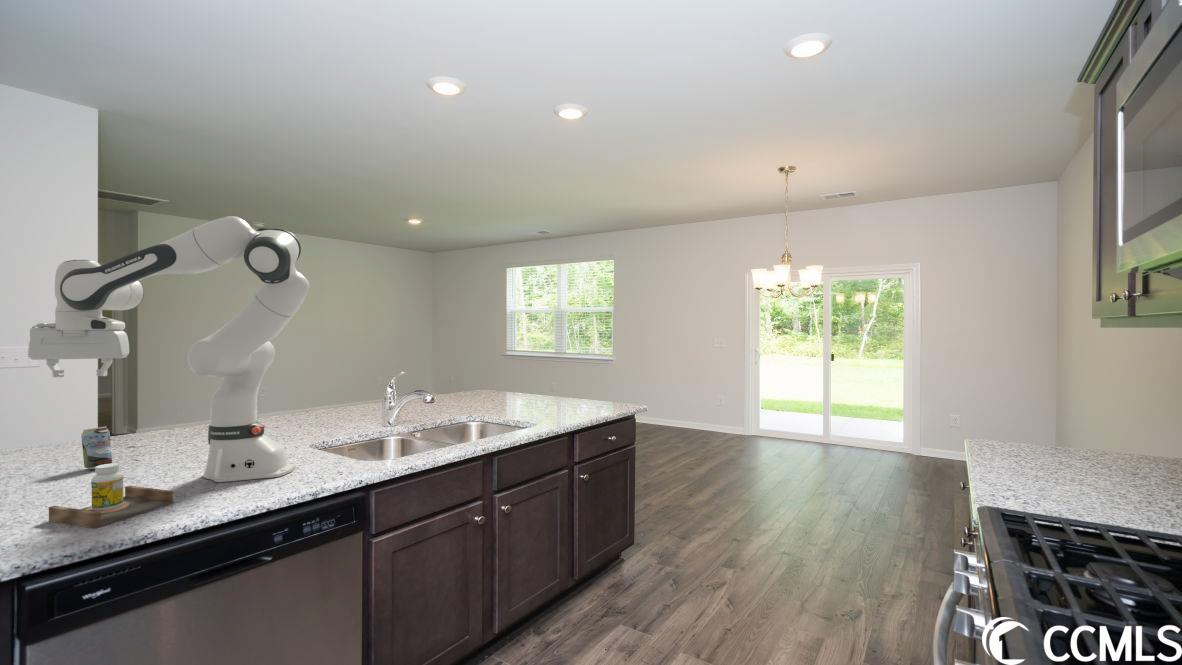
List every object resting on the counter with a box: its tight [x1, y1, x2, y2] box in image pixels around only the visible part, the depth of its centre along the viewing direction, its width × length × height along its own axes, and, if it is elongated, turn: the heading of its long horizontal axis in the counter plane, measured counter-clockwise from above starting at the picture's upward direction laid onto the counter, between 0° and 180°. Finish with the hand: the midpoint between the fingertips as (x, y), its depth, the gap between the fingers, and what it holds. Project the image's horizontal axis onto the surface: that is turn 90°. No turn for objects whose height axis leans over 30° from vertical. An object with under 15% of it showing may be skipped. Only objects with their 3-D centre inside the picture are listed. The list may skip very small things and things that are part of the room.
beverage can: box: [81, 426, 113, 470], centre depth 156 cm, size 6×7×12 cm
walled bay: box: [48, 485, 174, 529], centre depth 122 cm, size 14×16×3 cm
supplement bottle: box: [90, 462, 124, 511], centre depth 122 cm, size 5×5×10 cm
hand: (80, 376), depth 139 cm, fingers open, 8 cm apart
